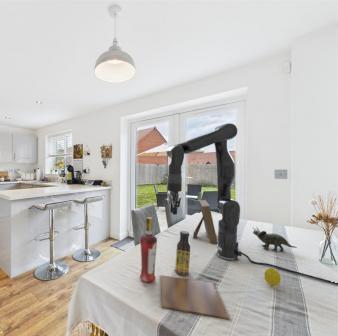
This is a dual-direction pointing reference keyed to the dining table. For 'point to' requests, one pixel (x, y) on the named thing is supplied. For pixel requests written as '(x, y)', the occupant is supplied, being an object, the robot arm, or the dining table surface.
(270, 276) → the lemon
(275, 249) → the toy dinosaur
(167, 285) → the wooden board
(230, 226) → the robot arm
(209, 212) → the photo frame
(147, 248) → the liquor
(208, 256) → the dining table surface
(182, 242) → the sauce bottle
